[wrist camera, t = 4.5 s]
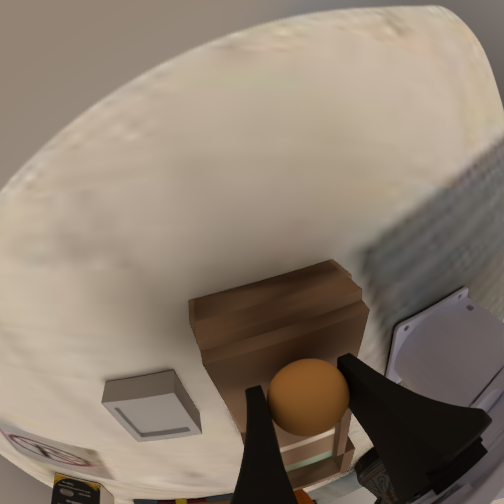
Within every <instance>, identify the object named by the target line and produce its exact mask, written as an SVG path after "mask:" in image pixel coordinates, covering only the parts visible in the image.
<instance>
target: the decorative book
mask: <svg viewBox="0 0 504 504" xmlns="http://www.w3.org/2000/svg"><path fill="white" fill-rule="evenodd" d="M232 496H233V493H232V494H227V495H220V496H213V497H206V499H196V500H188V499H186V498H183V499H175V500H176V501H157V500H134V501H133V502H134V504H230V502H231V499H232Z"/></svg>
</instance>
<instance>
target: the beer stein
mask: <svg viewBox="0 0 504 504" xmlns="http://www.w3.org/2000/svg"><path fill="white" fill-rule="evenodd" d="M355 470H356V473H357V479H358V482H359V484H361V485H362V486H363V487H365V488H366V489H368V490H369V491H370V492H371V493H373V494H374V495H375V496H376V497H377V500H376V501H375V503H374V504H400V503H399V501H398V499H397V496H396V494H395V491H394V488H393V486H392V483H391V481H390V478H389V476H388V474H387V472H386V469H385V467H384V465H383V463H382V461H381V459H380V457H379V455H378V453H377V451H376V449H375V447H373V448H372V449H371V450H370V451H368V452H367V453H366V454H365V455H364V456H362V457H361V458H360V460H359V461H358V462H357V464H356V465H355ZM452 488H453V487H452ZM452 488H451V489H450V490H448V491H447V492H446V493H445V494H443V495H442V496H441V497H439V498H438V499H437V500H435V501H434V502H432V503H431V504H435V503H437V502H438V501H439V500H441V499H442V498H444V497H445V496H447V495H448V494H450V493H451V492H452ZM419 498H421V496H420V494H419V495H418V496H416V497H415V498H413V499H412V500H410V501H408V502H407V503H405V504H411V503H413V502H415V501H416V500H418V499H419Z"/></svg>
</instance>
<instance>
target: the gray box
mask: <svg viewBox="0 0 504 504" xmlns="http://www.w3.org/2000/svg"><path fill="white" fill-rule="evenodd" d="M101 403H102V404H103V405H104V407H105V408H106V409H107V410H108V411H109V412H110V413H111V414H112V416H113V417H114V418H115V419H116V420H117V421H118V422H119V423H120V424H121V425H122V426H123V427H124V428H125V429H126V430H127V431H128V432H129V433H130V434H131V435H132V436H133V437H134V438H135V439H136V440H137V441H138V442H143V441H154V440H163V439H171V438H178V437H185V436H191V435H197V434H202V429H201V421H200V413H199V411H198V410H197V408H196V407H195V405H194V404H193V402H192V400H191V399H190V397H189V395H188V394H187V392H186V390H185V389H184V387H183V385H182V384H181V382H180V380H179V378H178V377H177V375H176V373H175V371H174V370H171V371H166V372H161V373H156V374H151V375H145V376H140V377H134V378H128V379H121V380H115V381H107V382H106V383H105V388H104V392H103V397H102V402H101Z"/></svg>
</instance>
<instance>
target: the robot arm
mask: <svg viewBox="0 0 504 504" xmlns="http://www.w3.org/2000/svg"><path fill="white" fill-rule="evenodd" d="M467 294H468V288H467V287H463V288H461V289H460V290H458V291H457V292H455V293H453V294H452V295H450V296H449V297H447V298H445V299H443V300H442V301H440V302H438V303H437V304H435V305H433V306H431V307H430V308H428V309H426V310H424V311H422V312H421V313H419V314H417V315H415V316H413V317H411V318H409V319H407V320H405V321H404V322H402V323H400V324H398V325H397V326H396V327H395V330H394V335H393V341H392V347H391V352H390V357H389V362H388V367H387V372H386V376H383V375H382V374H380V373H378V372H377V371H375V370H374V369H372V368H371V367H369V366H368V365H366V364H365V363H364V362H362V361H361V360H359V359H358V358H357V357H355V356H354V355H352V354H351V353H347V354H345V355H342V356H340V357H337V369H338V370H339V371H340V372H341V373H342V374H343V376H344V377H345V379H346V381H347V384H348V387H349V404H348V407H349V408H350V410H351V411H352V413H353V414H354V416H355V417H356V419H357V420H358V422H359V423H360V425H361V426H362V427H363V429H364V430H365V432H366V433H367V435H368V436H369V438H370V440H371V441H372V443H373V445H374V447H375V449H376V451H377V453H378V455H379V457H380V459H381V461H382V463H383V465H384V467H385V469H386V472H387V474H388V476H389V478H390V481H391V483H392V486H393V488H394V491H395V494H396V496H397V499H398V501H399V503H400V504H405V503H407V502H408V501H410V500H412V499H413V498H415V497H416V496H418V495H419V494H420V496H421V498H419V499H418V500H416V501H415V502H413V503H411V504H431V503H432V502H434V501H435V500H437V499H438V498H439V497H441V496H442V495H443V494H445V493H446V492H447V491H448V490H450V489H451V488H452V487H453V488H452V492H451V493H450V494H448V495H447V496H445V497H444V498H442V499H441V500H439V501H438V502H437V503H435V504H490V503H491V502H492V501H493V500H497V499H500V498H504V323H503V322H502V321H501V320H499V319H498V318H496V317H495V316H494V315H492V314H491V313H490V312H488V311H487V310H486V309H484V308H483V307H481V306H480V305H478V304H477V303H476V302H474V301H473V300H471V299H470V298H468V297H467ZM402 380H403V382H404V383H405V384H406V385H407V386H408V387H409V389H410V390H409V389H406V388H404V387H403V386H401V385H399V384H397V383H399V382H401V381H402ZM245 395H246V404H247V423H246V437H245V446H244V453H243V459H242V464H241V468H240V473H239V477H238V480H237V484H236V487H235V491H234V494H233V496H232V499H231V502H230V504H298V501H297V499H296V496H295V493H294V491H293V488H292V486H291V483H290V481H289V478H288V475H287V473H286V470H285V467H284V463H283V460H282V456H281V452H280V448H279V444H278V440H277V436H276V432H275V428H274V424H273V421H272V418H271V415H270V411H269V408H268V405H267V401H266V398H265V395H264V393H263V390H262V387H261V385H257V386H254V387H250V388H247V389H246V390H245Z"/></svg>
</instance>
